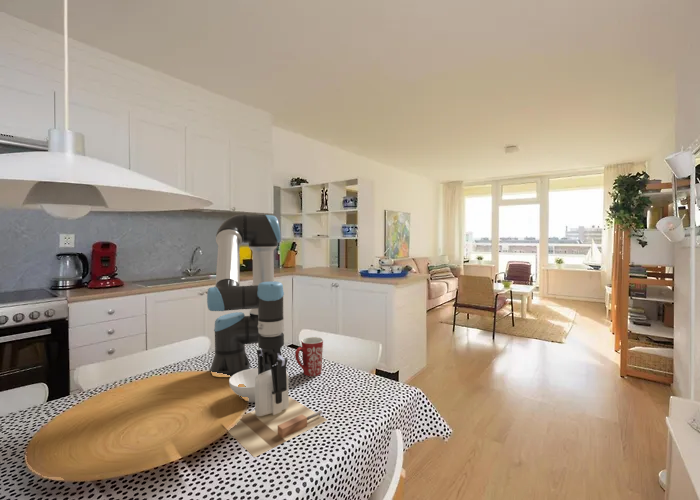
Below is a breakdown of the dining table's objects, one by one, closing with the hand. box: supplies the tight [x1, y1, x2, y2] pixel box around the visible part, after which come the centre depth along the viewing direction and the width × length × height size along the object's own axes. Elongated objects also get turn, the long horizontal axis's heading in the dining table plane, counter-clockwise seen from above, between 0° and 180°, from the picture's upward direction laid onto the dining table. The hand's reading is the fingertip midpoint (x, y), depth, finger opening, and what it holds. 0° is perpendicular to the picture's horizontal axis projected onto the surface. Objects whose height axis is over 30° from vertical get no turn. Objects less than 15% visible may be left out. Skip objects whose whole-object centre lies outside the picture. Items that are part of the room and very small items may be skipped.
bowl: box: [228, 367, 258, 403], centre depth 111 cm, size 16×16×7 cm
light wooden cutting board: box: [227, 396, 328, 458], centre depth 93 cm, size 20×23×2 cm
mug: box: [294, 336, 325, 377], centre depth 130 cm, size 13×9×14 cm
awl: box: [278, 410, 323, 438], centre depth 91 cm, size 14×2×2 cm, turn 134°
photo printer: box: [254, 369, 290, 416], centre depth 98 cm, size 10×4×12 cm, turn 124°
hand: (272, 409), depth 98 cm, fingers closed on photo printer, 5 cm apart
